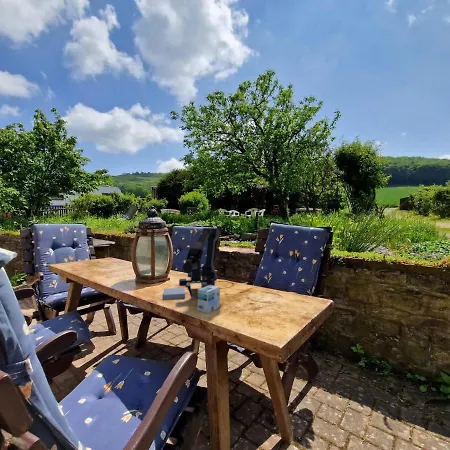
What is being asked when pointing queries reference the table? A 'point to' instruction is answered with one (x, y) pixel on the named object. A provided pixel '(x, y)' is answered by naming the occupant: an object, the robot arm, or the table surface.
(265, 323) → the table surface
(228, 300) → the table surface
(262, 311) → the table surface
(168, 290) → the slate block
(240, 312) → the table surface
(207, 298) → the light bulb box
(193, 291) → the walnut cube
